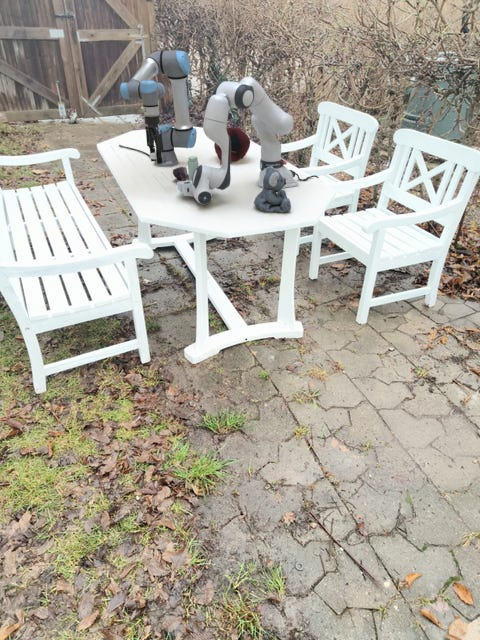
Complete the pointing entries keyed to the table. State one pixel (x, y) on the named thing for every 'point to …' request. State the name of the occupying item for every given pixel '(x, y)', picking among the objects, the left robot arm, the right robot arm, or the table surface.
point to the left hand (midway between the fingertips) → (156, 162)
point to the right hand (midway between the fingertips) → (193, 180)
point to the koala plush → (273, 193)
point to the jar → (192, 166)
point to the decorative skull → (235, 144)
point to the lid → (153, 155)
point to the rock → (181, 174)
